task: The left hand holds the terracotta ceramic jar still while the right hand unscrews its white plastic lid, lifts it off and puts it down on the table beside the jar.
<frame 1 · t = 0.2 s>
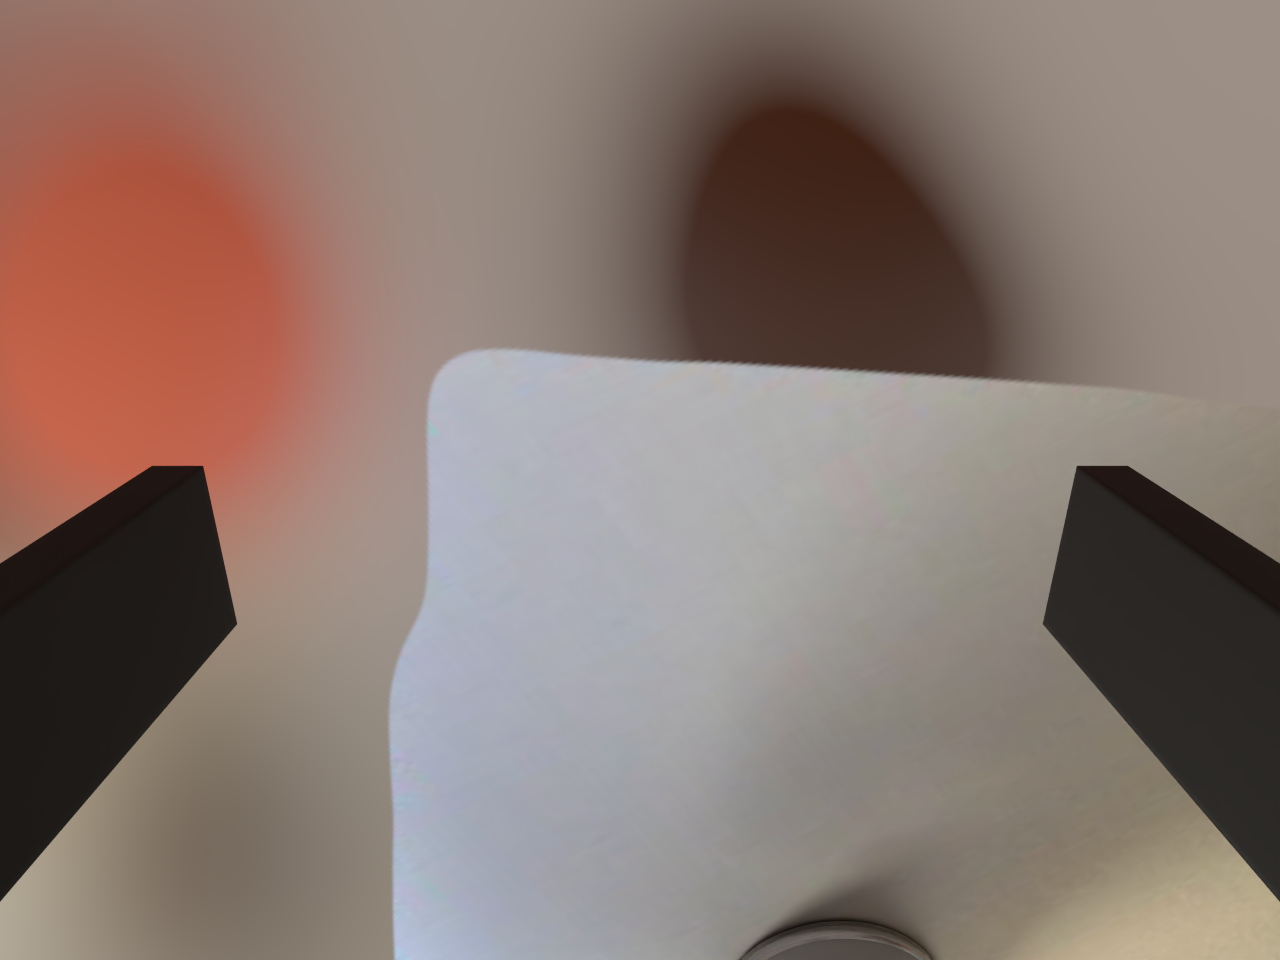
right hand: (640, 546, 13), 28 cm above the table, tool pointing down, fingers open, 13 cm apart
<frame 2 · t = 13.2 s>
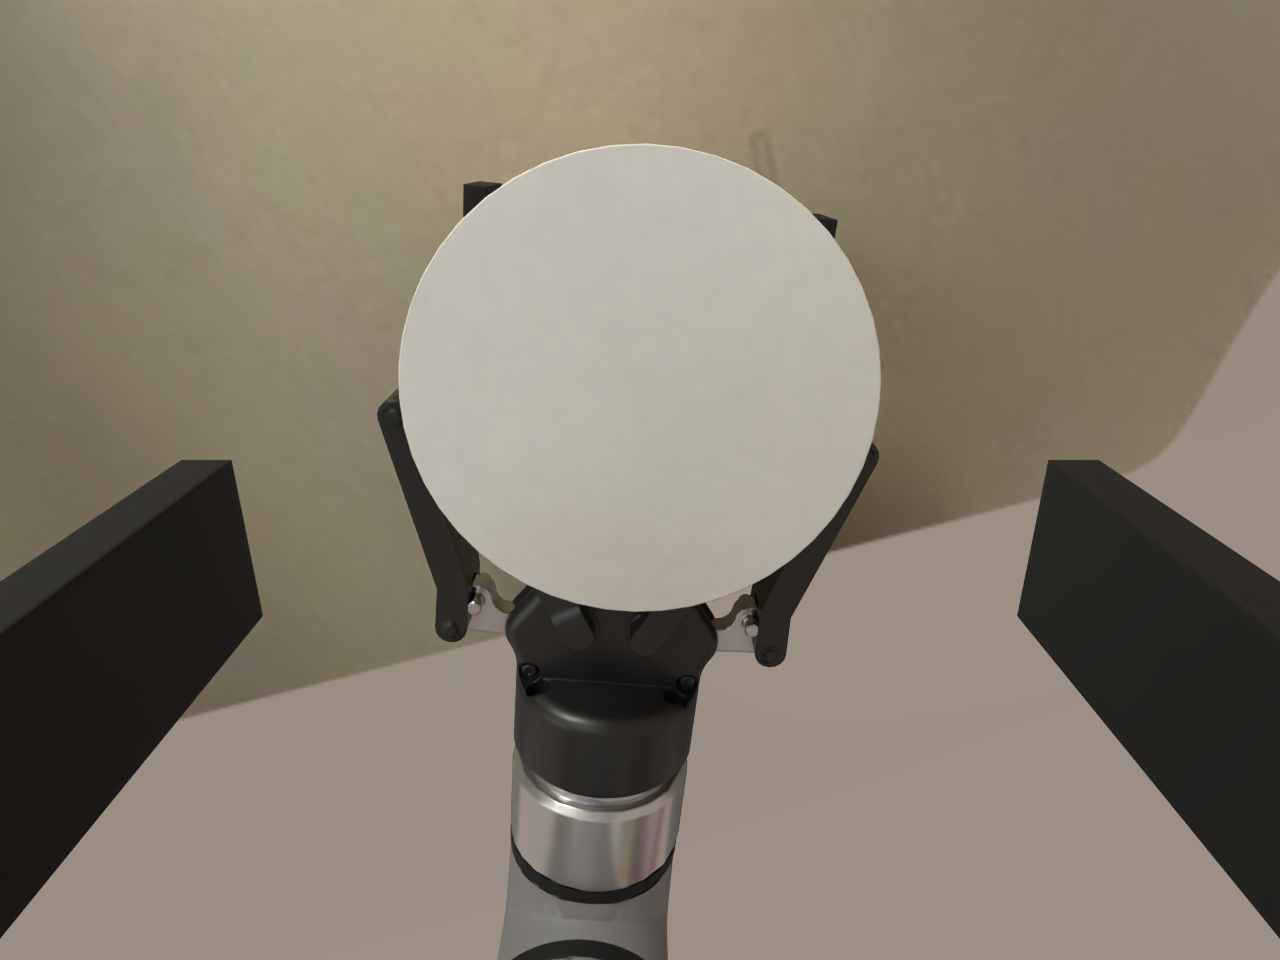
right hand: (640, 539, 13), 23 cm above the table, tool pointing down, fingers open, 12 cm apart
left hand: (651, 199, 27), fingers closed on jar, 10 cm apart
lid: (639, 399, 20), point 15 cm above the table, screwed on, not yet turned
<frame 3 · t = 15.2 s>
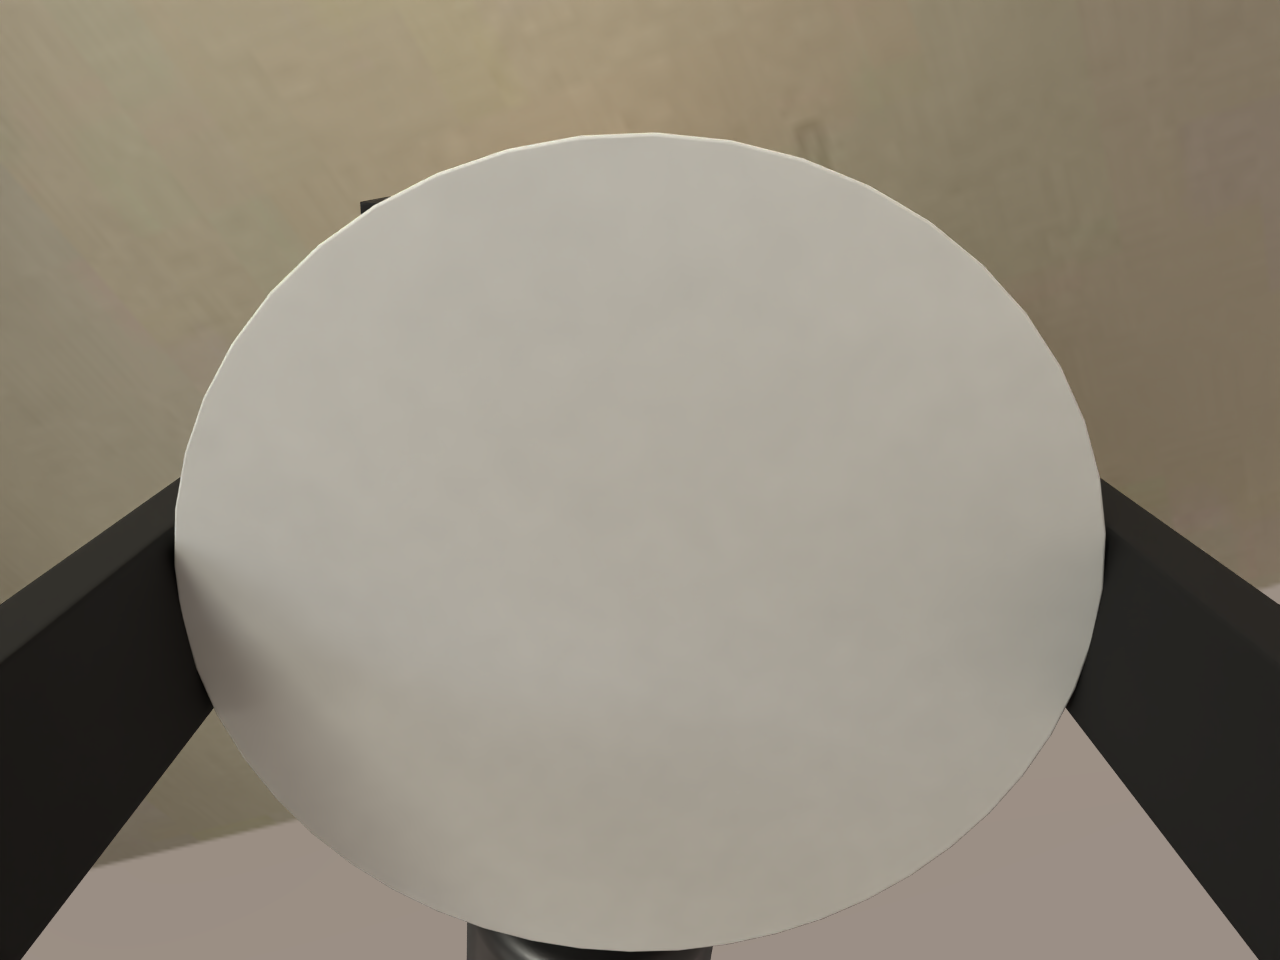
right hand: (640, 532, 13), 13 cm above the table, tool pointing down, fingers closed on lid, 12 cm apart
lid: (639, 614, 11), point 15 cm above the table, screwed on, not yet turned, touching right hand
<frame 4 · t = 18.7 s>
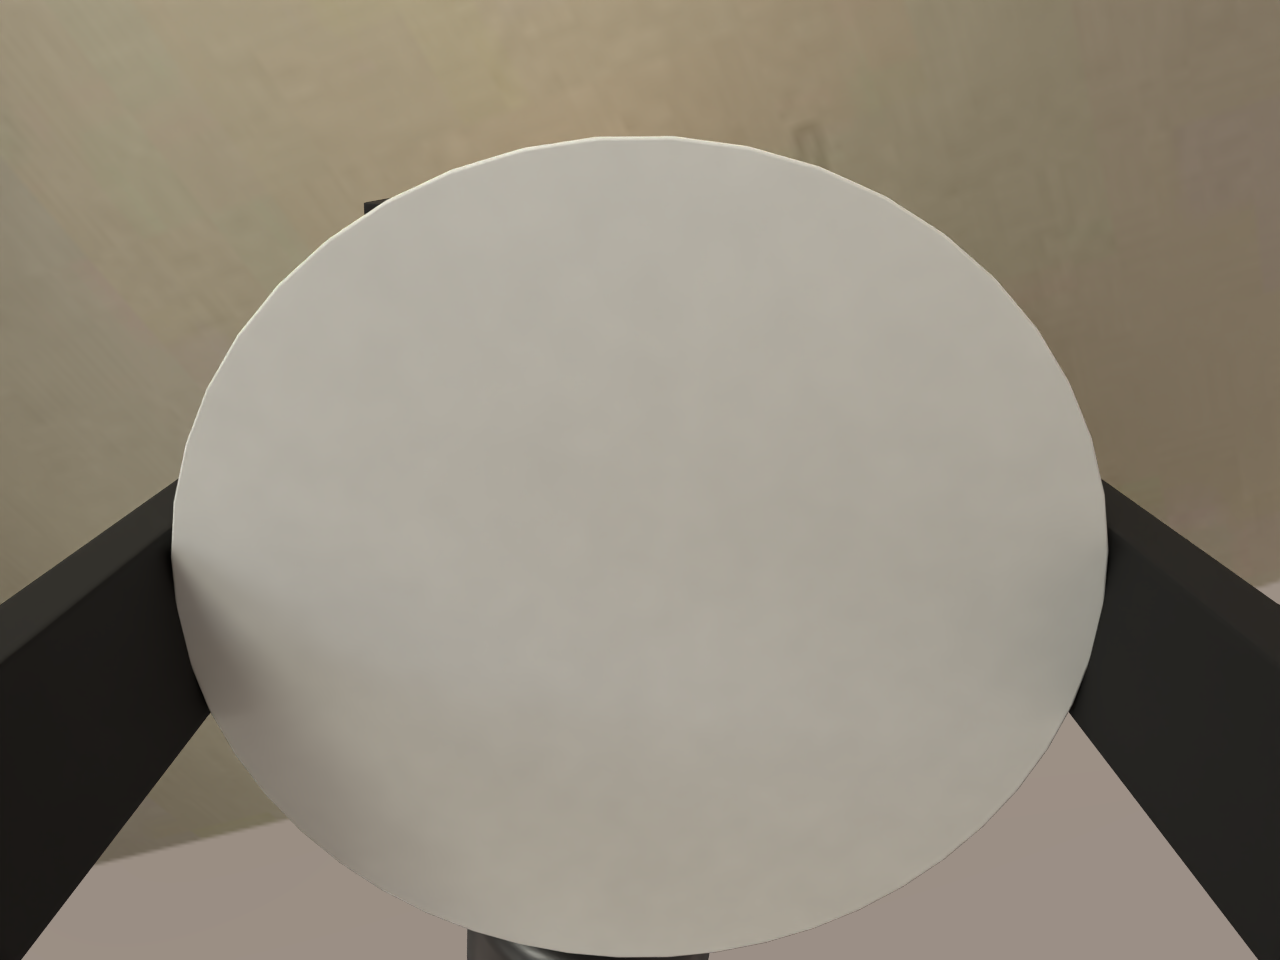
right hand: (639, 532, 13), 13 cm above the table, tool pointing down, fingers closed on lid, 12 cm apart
lid: (639, 619, 11), point 15 cm above the table, turned 111° so far, risen 0.3 cm, still on its thread, touching right hand
when the right hand's fingers open (0 cm above the table, at t = 25.1 s): lid drops 1 cm, point 1 cm above the table.
when the left hand's fingers open (6 cm above the table, at t = 26.2 s): jar stays where it is, on the table.
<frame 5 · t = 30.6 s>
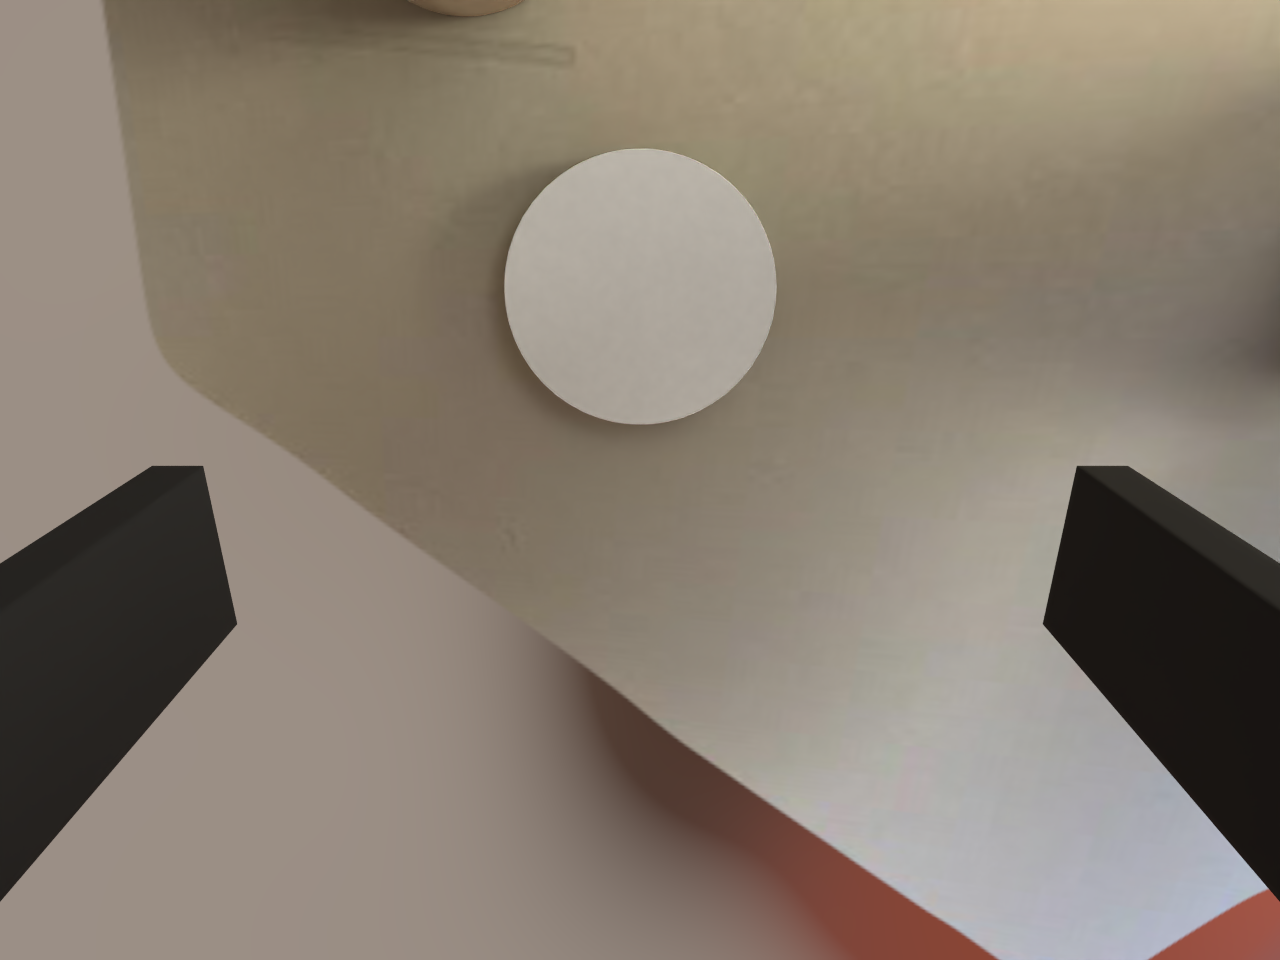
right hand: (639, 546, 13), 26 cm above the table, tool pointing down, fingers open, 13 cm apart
lid: (640, 293, 35), point 1 cm above the table, off its thread
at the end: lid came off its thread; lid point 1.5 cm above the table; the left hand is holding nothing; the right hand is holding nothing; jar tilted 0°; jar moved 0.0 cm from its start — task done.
